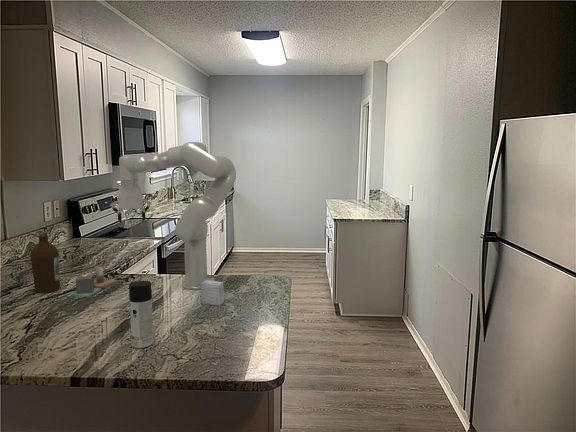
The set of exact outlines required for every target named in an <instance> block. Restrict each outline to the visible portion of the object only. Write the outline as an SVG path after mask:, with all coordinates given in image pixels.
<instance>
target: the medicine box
mask: <svg viewBox="0 0 576 432" xmlns="http://www.w3.org/2000/svg"><path fill="white" fill-rule="evenodd" d="M200 290H201V291H200V295H201V304H202V305H210V306H216V307H217V306H218V307H219V306H222V304H224V303H225V295H224V294H225V293H224V290H225V289H224V281H217V280H215V281H209V280H206V281H204V282H202V283H201V289H200Z"/></svg>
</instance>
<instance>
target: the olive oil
mask: <svg viewBox="0 0 576 432" xmlns="http://www.w3.org/2000/svg"><path fill="white" fill-rule="evenodd" d="M48 238H49V237H48V232H47V231H45V232H39V233H38V243H37V244H35V246H34V248H32V250H31V252H30V264H31V270H32V277H33V285H34V292H35V293H38V294H47V293H48V294H49V293H54V292H56V291H58V290H60V288H61V285H60V283H61V282H60V281H61V280H60V252H59V250H58V248H57V247H56V246H55V245H53V244H52V243H51V242H50V241H49V239H48Z"/></svg>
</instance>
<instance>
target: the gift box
mask: <svg viewBox="0 0 576 432" xmlns="http://www.w3.org/2000/svg"><path fill="white" fill-rule="evenodd" d="M94 277H95V276H94V274H82V275H81V274H80V275H77V277H76V279H75V289H76V290H75V291H77V294H85V293H93V290H94V279H95V278H94Z"/></svg>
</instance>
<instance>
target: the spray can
mask: <svg viewBox="0 0 576 432" xmlns="http://www.w3.org/2000/svg"><path fill="white" fill-rule="evenodd" d="M152 292H153V291H152V282H151V281H149V280H135V281H132V282H130V283H129V284H128V295H129V296H128V297H129V298H128V299H129V304H128V305H129V325H130V342H131V343H130V345H131V347H132V348H134V349H136V350H137V349H138V350H139V349H146V348H149V347H151V346H152V345H153V343H154V322H153V317H154V316H153V295H152V294H153V293H152Z"/></svg>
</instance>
